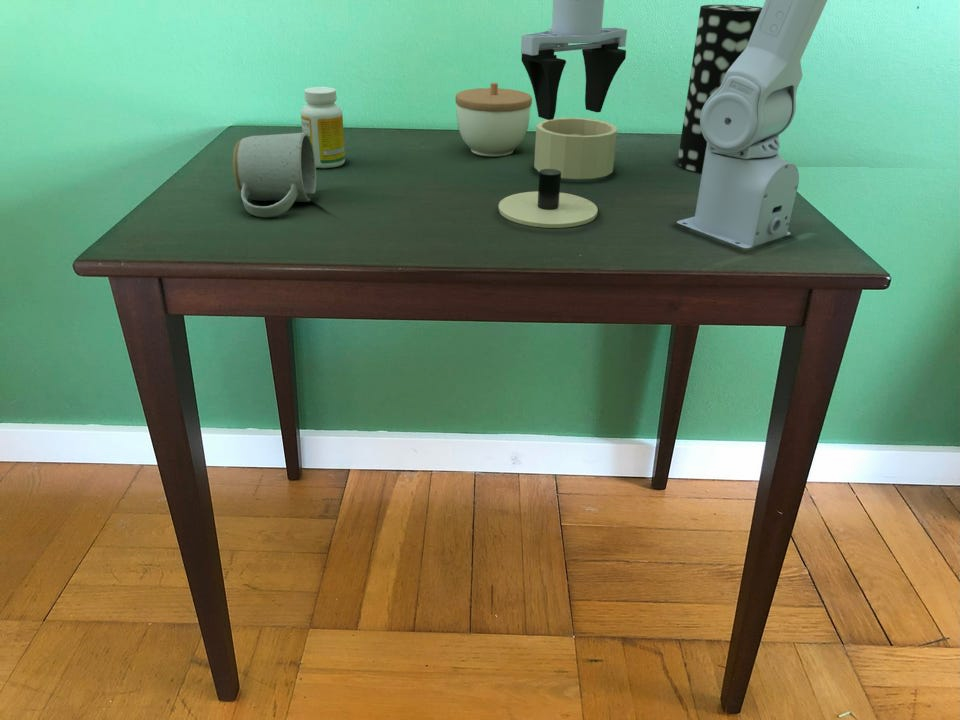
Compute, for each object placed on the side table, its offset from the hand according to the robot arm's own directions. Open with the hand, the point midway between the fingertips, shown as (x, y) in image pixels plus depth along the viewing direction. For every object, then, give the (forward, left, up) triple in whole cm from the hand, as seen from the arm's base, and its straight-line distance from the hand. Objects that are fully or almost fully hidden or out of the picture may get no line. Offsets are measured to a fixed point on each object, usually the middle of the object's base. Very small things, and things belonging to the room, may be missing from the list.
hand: (570, 114), depth 93 cm
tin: (+5, -6, -9) cm, 11 cm away
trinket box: (+19, -3, -9) cm, 21 cm away
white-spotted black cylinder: (-3, -24, -9) cm, 26 cm away
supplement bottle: (+26, +20, -9) cm, 34 cm away
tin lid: (-7, +9, -8) cm, 14 cm away
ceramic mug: (+14, +32, -9) cm, 36 cm away
